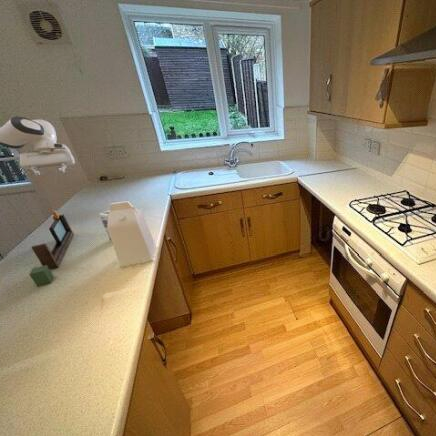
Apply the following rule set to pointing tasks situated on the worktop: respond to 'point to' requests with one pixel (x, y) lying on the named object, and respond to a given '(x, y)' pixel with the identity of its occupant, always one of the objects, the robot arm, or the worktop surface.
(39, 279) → the block
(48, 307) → the worktop surface
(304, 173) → the worktop surface
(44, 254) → the window frame
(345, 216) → the worktop surface
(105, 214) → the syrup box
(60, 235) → the window pane
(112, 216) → the milk
